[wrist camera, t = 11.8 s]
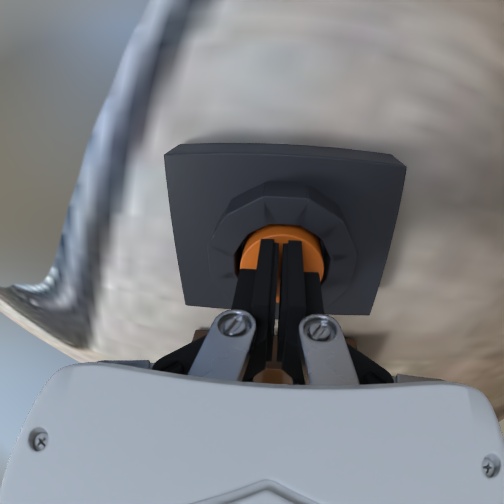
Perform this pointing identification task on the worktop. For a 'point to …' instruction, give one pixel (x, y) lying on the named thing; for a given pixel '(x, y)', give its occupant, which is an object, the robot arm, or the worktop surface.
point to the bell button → (282, 235)
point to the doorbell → (282, 214)
